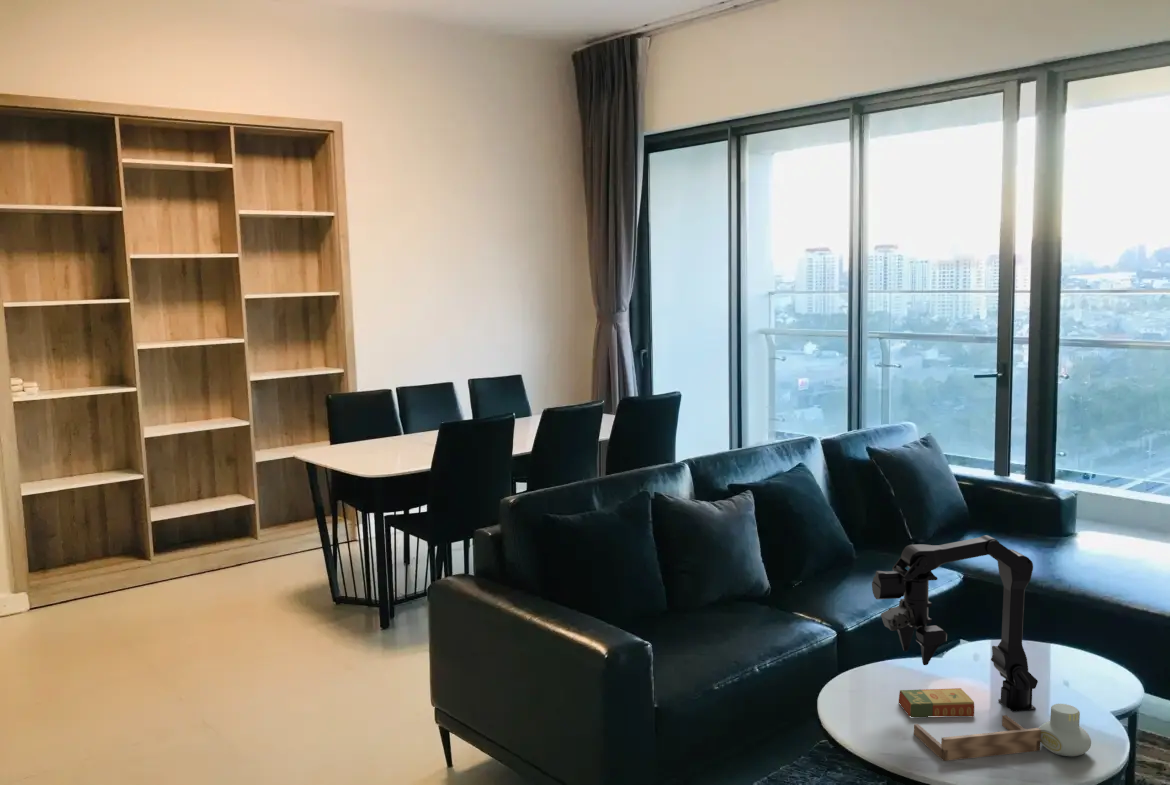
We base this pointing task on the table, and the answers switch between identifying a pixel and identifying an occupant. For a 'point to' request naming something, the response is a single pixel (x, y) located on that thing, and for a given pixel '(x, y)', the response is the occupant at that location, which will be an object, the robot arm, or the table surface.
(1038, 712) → the table surface
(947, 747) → the frame
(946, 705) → the carton
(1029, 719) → the table surface
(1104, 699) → the table surface
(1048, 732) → the air freshener
